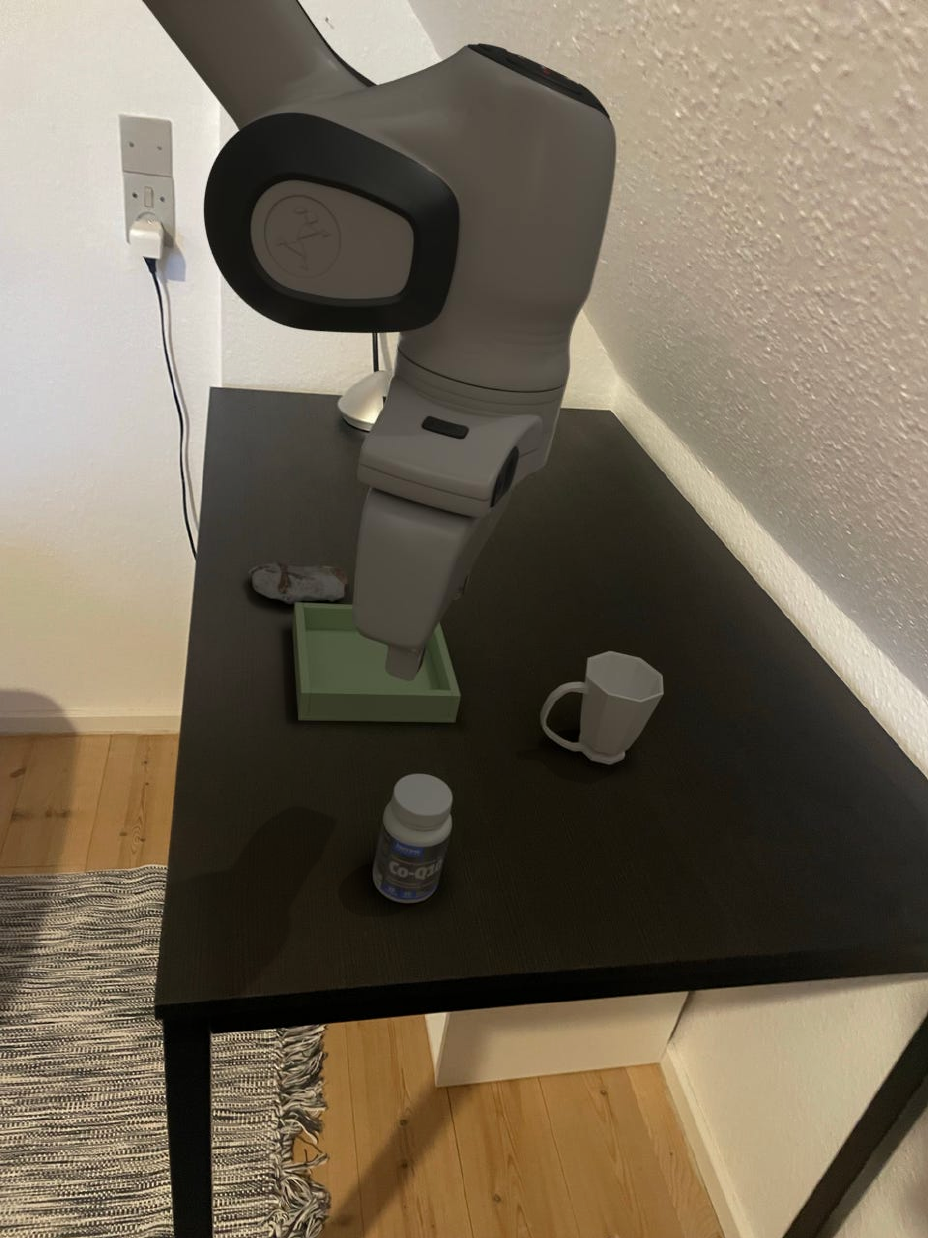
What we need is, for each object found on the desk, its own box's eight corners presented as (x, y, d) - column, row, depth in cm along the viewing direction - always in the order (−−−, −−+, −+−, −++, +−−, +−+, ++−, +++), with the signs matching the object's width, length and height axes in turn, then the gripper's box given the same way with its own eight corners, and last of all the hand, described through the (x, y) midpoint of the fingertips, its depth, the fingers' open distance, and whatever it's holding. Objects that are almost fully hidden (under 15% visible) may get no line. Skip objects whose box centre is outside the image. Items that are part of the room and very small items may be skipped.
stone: (255, 614, 91) (257, 591, 90) (245, 574, 97) (246, 551, 95) (352, 611, 94) (355, 589, 93) (337, 572, 100) (339, 551, 99)
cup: (652, 773, 82) (680, 700, 77) (544, 778, 79) (566, 702, 74) (622, 720, 87) (646, 650, 83) (520, 723, 84) (540, 650, 80)
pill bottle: (379, 909, 64) (396, 822, 60) (366, 857, 68) (380, 771, 64) (445, 902, 66) (466, 816, 62) (429, 850, 70) (447, 766, 65)
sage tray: (298, 720, 79) (301, 692, 78) (292, 628, 90) (294, 601, 89) (455, 722, 83) (461, 696, 81) (431, 633, 94) (435, 608, 92)
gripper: (467, 349, 58) (429, 543, 66) (345, 462, 41) (312, 707, 49) (564, 376, 58) (515, 569, 65) (482, 503, 41) (427, 745, 48)
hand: (427, 629), depth 57 cm, fingers open, 8 cm apart
